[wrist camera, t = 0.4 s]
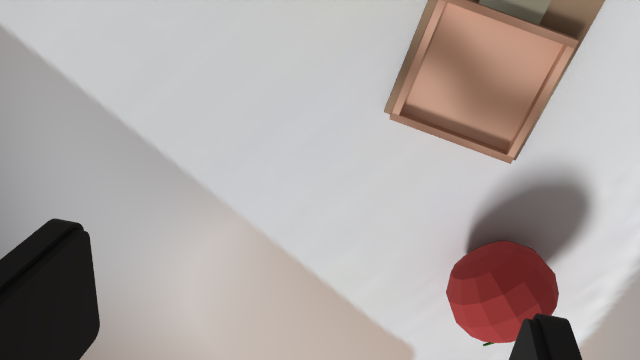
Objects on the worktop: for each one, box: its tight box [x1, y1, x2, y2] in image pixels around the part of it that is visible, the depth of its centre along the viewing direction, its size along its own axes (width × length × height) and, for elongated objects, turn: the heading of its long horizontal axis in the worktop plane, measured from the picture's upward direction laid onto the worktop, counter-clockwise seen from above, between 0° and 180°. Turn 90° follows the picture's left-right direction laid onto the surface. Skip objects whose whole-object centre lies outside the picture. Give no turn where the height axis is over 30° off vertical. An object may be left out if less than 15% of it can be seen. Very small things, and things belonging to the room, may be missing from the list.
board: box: [384, 0, 605, 164], centre depth 34 cm, size 19×10×2 cm, turn 162°
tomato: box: [446, 241, 559, 346], centre depth 40 cm, size 8×8×8 cm
